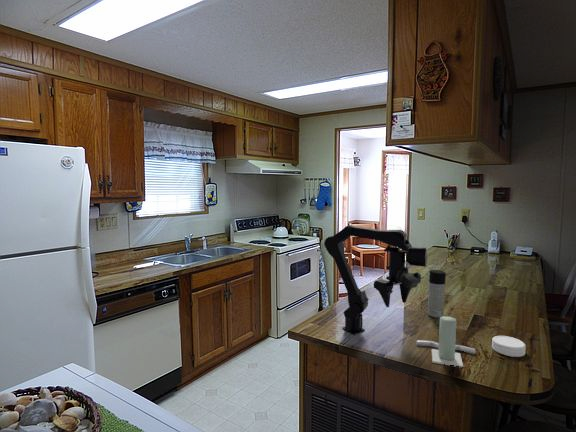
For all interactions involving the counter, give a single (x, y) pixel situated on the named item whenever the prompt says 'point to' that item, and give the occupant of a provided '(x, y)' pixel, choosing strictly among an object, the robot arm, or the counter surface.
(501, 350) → the white thick disc
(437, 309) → the spray can
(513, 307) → the counter surface
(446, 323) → the sage peg
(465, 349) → the bent wire
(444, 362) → the tile
